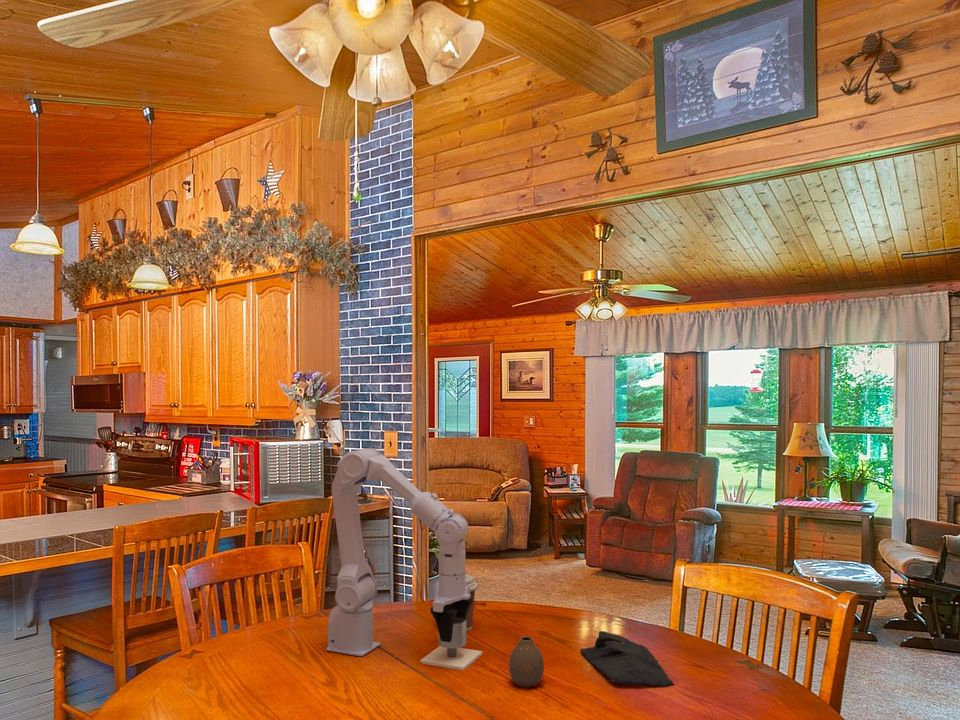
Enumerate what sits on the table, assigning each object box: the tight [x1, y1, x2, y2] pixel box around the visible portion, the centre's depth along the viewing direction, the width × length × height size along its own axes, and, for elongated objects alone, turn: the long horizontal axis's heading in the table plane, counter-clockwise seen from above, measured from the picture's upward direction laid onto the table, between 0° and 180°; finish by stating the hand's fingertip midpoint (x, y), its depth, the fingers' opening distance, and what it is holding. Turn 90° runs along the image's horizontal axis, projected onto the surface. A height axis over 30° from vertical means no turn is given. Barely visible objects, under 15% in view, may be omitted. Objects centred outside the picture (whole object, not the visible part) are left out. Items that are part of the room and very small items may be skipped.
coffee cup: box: [465, 573, 479, 632], centre depth 177 cm, size 9×9×12 cm
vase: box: [508, 635, 545, 688], centre depth 143 cm, size 7×7×9 cm
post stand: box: [419, 645, 483, 671], centre depth 156 cm, size 10×10×6 cm
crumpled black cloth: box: [579, 630, 675, 688], centre depth 152 cm, size 15×22×5 cm
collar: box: [437, 616, 467, 649], centre depth 156 cm, size 6×6×5 cm
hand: (452, 636), depth 156 cm, fingers closed on collar, 5 cm apart
